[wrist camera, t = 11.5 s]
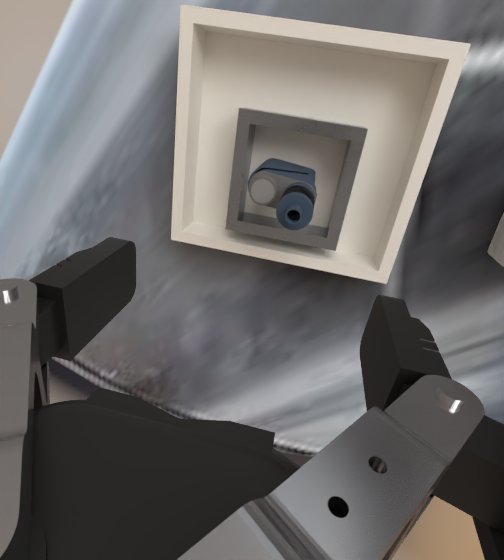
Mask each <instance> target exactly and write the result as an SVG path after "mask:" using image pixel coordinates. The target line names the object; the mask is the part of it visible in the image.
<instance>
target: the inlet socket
mask: <svg viewBox="0 0 504 560" xmlns="http://www.w3.org/2000/svg"><path fill="white" fill-rule="evenodd" d="M256 125H260V126H266V127H272V128H278V129H284V130H290V131H296V132H302V133H308V134H314V135H320V136H326V137H332V138H338V139H344V140H348V144H347V148H346V152H345V156H344V160H343V164H342V168H341V172H340V177H339V181H338V185H337V189H336V193H335V197H334V201H333V205H332V209H331V213H330V217H329V221H328V225H327V228H325V227H320V226H315V225H310V224H308V225H307V226H306V227H305V228H303V229H300V230H289V229H287V228H285V227H283V226H282V225H281V224H280V223H279V221H278V219H277V218H273V217H268V216H263V215H258V214H253V213H248V212H244V209H245V202H246V194H247V187H248V179H249V172H250V165H251V157H252V150H253V142H254V135H255V128H256ZM367 131H368V129H367V128H366V127H362V126H356V125H350V124H344V123H338V122H332V121H325V120H319V119H313V118H307V117H301V116H295V115H289V114H283V113H276V112H270V111H264V110H258V109H252V108H239V112H238V121H237V129H236V138H235V147H234V156H233V165H232V174H231V183H230V191H229V200H228V209H227V218H226V227H225V229H227V230H232V231H237V232H242V233H247V234H252V235H258V236H263V237H268V238H273V239H278V240H283V241H288V242H293V243H298V244H303V245H308V246H313V247H318V248H323V249H328V250H333V251H336V247H337V244H338V240H339V236H340V232H341V229H342V225H343V221H344V217H345V214H346V210H347V206H348V202H349V199H350V195H351V191H352V187H353V184H354V180H355V176H356V172H357V169H358V165H359V161H360V157H361V154H362V150H363V146H364V142H365V139H366V135H367Z"/></svg>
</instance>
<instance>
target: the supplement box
mask: <svg viewBox="0 0 504 560" xmlns="http://www.w3.org/2000/svg"><path fill="white" fill-rule="evenodd" d="M487 253H488V254H489V255H490V256H491V257H493V258H494V259H495V260H496V261H497V262H498V263H499V264H500V265H501V266H502V267H504V213H503V215H502V217H501V219H500V222H499V224H498V227H497V229H496V231H495V234H494V236H493V238H492V240H491V243H490V246H489V248H488V251H487Z"/></svg>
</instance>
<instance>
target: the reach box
mask: <svg viewBox="0 0 504 560" xmlns="http://www.w3.org/2000/svg"><path fill="white" fill-rule="evenodd" d="M470 45H471V44H468V43H461V42H453V41H446V40H439V39H431V38H424V37H417V36H409V35H402V34H394V33H387V32H380V31H372V30H365V29H358V28H350V27H343V26H336V25H328V24H321V23H314V22H306V21H299V20H292V19H284V18H277V17H270V16H262V15H255V14H248V13H240V12H233V11H226V10H218V9H211V8H204V7H196V6H189V5H182V4H181V10H180V34H179V58H178V82H177V106H176V130H175V154H174V178H173V202H172V226H171V240H175V241H180V242H185V243H190V244H195V245H200V246H205V247H209V248H214V249H219V250H224V251H229V252H234V253H239V254H243V255H248V256H253V257H258V258H263V259H268V260H273V261H278V262H282V263H287V264H292V265H297V266H302V267H307V268H312V269H316V270H321V271H326V272H331V273H336V274H341V275H346V276H350V277H355V278H360V279H365V280H370V281H375V282H380V283H385V284H387V281H388V278H389V276H390V273H391V270H392V267H393V264H394V261H395V258H396V256H397V253H398V250H399V247H400V244H401V241H402V239H403V236H404V233H405V230H406V227H407V224H408V222H409V219H410V216H411V213H412V210H413V207H414V204H415V202H416V199H417V196H418V193H419V190H420V187H421V185H422V182H423V179H424V176H425V173H426V170H427V168H428V165H429V162H430V159H431V156H432V153H433V150H434V148H435V145H436V142H437V139H438V136H439V133H440V131H441V128H442V125H443V122H444V119H445V116H446V114H447V111H448V108H449V105H450V102H451V99H452V97H453V94H454V91H455V88H456V85H457V82H458V79H459V77H460V74H461V71H462V68H463V65H464V62H465V60H466V57H467V54H468V51H469V48H470ZM239 108H252V109H258V110H264V111H270V112H276V113H283V114H289V115H295V116H301V117H307V118H313V119H319V120H325V121H332V122H338V123H344V124H350V125H356V126H362V127H366V128H367V129H368V131H367V135H366V139H365V142H364V146H363V150H362V154H361V157H360V161H359V165H358V169H357V172H356V176H355V180H354V184H353V187H352V191H351V195H350V199H349V202H348V206H347V210H346V214H345V217H344V221H343V225H342V229H341V232H340V236H339V240H338V244H337V247H336V251H333V250H328V249H323V248H318V247H313V246H308V245H303V244H298V243H293V242H288V241H283V240H278V239H273V238H268V237H263V236H258V235H252V234H247V233H242V232H237V231H232V230H227V229H225V227H226V218H227V209H228V200H229V191H230V183H231V174H232V165H233V156H234V147H235V138H236V129H237V121H238V112H239ZM347 144H348V140H344V139H338V138H332V137H326V136H320V135H314V134H308V133H302V132H296V131H290V130H284V129H278V128H272V127H266V126H260V125H256V128H255V135H254V142H253V150H252V157H251V165H250V172H249V178H250V176H251V174H252V173H253V172H254V171H255V170H256V169H257V168H258V167H259V166H260V165H261V164H262V163H264V162H265V161H266V160H267V159H270V158H275V159H280V160H283V161H287V162H290V163H294V164H297V165H301V166H304V167H308V168H311V169H313V170H314V171H315V172H316V174H315V186H316V193H317V198H316V202H315V205H314V212H313V217H312V220H311V222H310V223H309V224H310V225H315V226H320V227H325V228H327V225H328V221H329V217H330V213H331V209H332V205H333V201H334V197H335V193H336V189H337V185H338V181H339V177H340V172H341V168H342V164H343V160H344V156H345V152H346V148H347ZM248 180H249V179H248ZM244 212H248V213H253V214H258V215H263V216H268V217H273V218H277V216H276V209H275V208H272V207H268V206H265V205H258V204H256V203H255V202H253V201H252V199H251V198H250V195H249V192H248V187H247V194H246V202H245V209H244Z"/></svg>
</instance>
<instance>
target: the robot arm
mask: <svg viewBox="0 0 504 560" xmlns="http://www.w3.org/2000/svg"><path fill="white" fill-rule="evenodd" d="M135 288H136V247H135V244H134V243H133V242H132V241H127V240H122V239H118V238H113V237H109V238H107V239H106V240H104V241H102V242H101V243H99V244H98V245H96V246H94V247H93V248H89V249H86V250H82V251H79V252H76V253H74V254H73V255H71V256H69V257H68V258H66V260H63V261H61V262H59V263H58V264H57V265H56V266H55V265H54V266H53V267H51V268H49V269H47V270H46V271H44V272H42V273H41V274H39V275H37V276H36V277H34V278H32V279H31V280H29V281H28V280H24V279H1V280H0V560H391V559H392V557H393V556H394V554H395V553H396V551H397V550H398V548H399V547H400V545H401V544H402V543H403V541H404V540H405V538H406V537H407V535H408V534H409V532H410V531H411V529H412V528H413V527H414V525H415V524H416V522H417V521H418V519H419V518H420V516H421V515H422V513H423V512H424V511H425V509H426V508H427V506H428V505H429V503H430V502H431V500H432V499H433V497H434V496H436V497H439V498H440V499H442V500H444V501H446V502H447V503H450V504H451V505H453V506H455V507H456V508H458V509H460V510H462V511H464V512H465V513H467V514H469V515H471V516H473V520H474V524H475V527H476V531H477V534H478V537H479V541H480V544H481V548H482V551H483V554H484V558H485V560H504V424H502V423H499V422H497V421H495V420H493V419H491V418H489V417H487V416H485V415H484V407H483V405H482V403H481V401H480V400H479V399H478V397H477V396H476V395H475V394H474V393H473V392H472V391H470V390H469V389H468V388H466V387H465V386H463V385H462V384H460V383H458V382H456V381H454V380H452V378H451V376H450V374H449V372H448V370H447V367H446V365H445V363H444V361H443V358H442V356H441V354H440V353H439V350H438V347H437V345H436V343H434V342H435V341H434V338H433V336H432V334H431V332H430V330H429V329H428V328H427V327H426V326H425V325H424V324H423V323H422V322H421V321H420V320H419V319H417V318H412V317H411V316H410V314H409V311H408V309H407V306H406V304H405V301H404V300H402V299H397V298H393V297H388V296H383V295H378V296H377V297H376V299H375V302H374V304H373V307H372V310H371V313H370V316H369V319H368V322H367V324H366V327H365V330H364V333H363V336H362V340H361V345H360V360H361V368H362V376H363V384H364V391H365V399H366V407H367V412H366V413H365V414H364V415H362V416H361V417H360V418H359V419H358V420H357V421H355V422H354V423H353V424H352V425H351V426H349V427H348V428H347V429H346V430H345V431H344V432H342V433H341V434H340V435H339V436H338V437H336V438H335V439H334V440H333V441H332V442H331V443H329V444H328V445H327V446H326V447H325V448H323V449H322V450H321V451H320V452H319V453H318V454H316V455H315V456H314V457H313V458H312V459H310V460H309V461H308V462H307V463H306V464H305V465H304V466H302V467H299V466H298V465H297V464H296V463H295V462H294V461H292V460H291V459H290V458H288V457H287V456H285V455H284V454H282V453H281V452H279V451H277V450H276V449H274V448H273V442H274V435H275V433H274V432H270V431H266V430H262V429H258V428H255V427H251V426H247V425H243V424H239V423H235V422H231V421H216V420H192V419H180V418H177V417H175V416H173V415H171V414H169V413H167V412H165V411H163V410H161V409H159V408H158V407H156V406H154V405H152V404H150V403H148V402H146V401H144V400H143V399H141V398H138V397H135V396H131V395H127V394H123V393H119V392H115V391H111V390H107V389H104V388H100V387H97V388H96V389H95V390H94V392H93V393H92V394H91V396H90V397H89V398H88V399H87V400H70V401H63V402H57V403H53V404H50V399H49V398H50V397H49V367H48V360H49V359H50V358H51V357H57V358H61V359H65V360H69V361H71V360H72V359H73V358H74V357H75V356H76V355H77V354H78V353H79V352H80V351H81V350H82V349H83V348H84V347H85V346H86V345H87V344H88V343H89V342H90V341H91V340H92V339H93V338H94V337H95V336H96V335H97V334H98V333H99V332H100V331H101V330H102V329H103V328H104V327H105V326H106V325H107V324H108V323H109V322H110V321H111V320H112V319H113V318H114V317H115V316H116V315H117V314H118V313H119V312H120V311H121V310H122V309H123V308H124V307H125V306H126V305H127V304H128V303H129V302H130V301H131V299H132V297H133V295H134V292H135Z"/></svg>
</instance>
